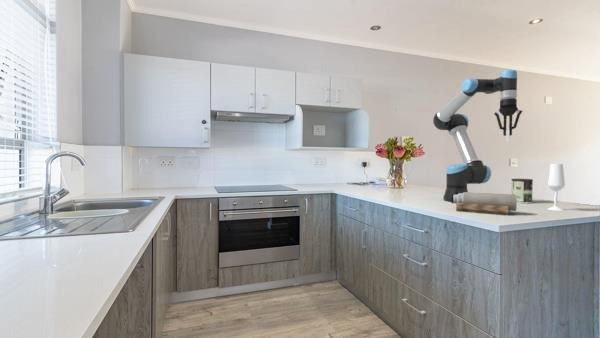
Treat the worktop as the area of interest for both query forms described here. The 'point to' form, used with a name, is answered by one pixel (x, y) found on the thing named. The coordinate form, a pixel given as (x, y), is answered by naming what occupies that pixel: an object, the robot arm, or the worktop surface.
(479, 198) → the thermos bottle
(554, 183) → the champagne flute
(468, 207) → the cradle
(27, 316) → the worktop surface
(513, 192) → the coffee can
